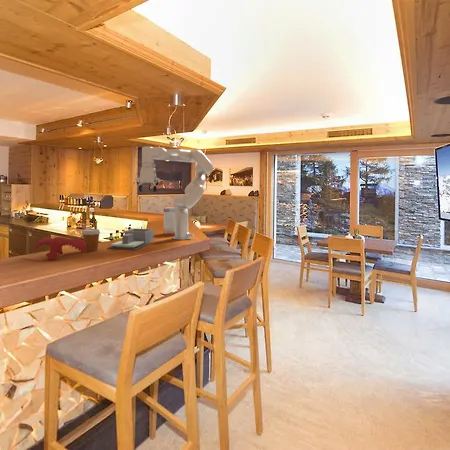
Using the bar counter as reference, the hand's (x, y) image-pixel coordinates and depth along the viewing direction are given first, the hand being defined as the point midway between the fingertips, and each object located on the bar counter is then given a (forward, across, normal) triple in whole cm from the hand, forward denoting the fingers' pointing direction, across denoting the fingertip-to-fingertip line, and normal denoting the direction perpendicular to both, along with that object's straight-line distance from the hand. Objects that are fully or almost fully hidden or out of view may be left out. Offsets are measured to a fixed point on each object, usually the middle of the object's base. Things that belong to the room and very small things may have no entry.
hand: (147, 191), depth 220 cm
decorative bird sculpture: (+34, +24, +60) cm, 73 cm away
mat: (+33, +4, +22) cm, 40 cm away
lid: (+33, +4, +22) cm, 40 cm away
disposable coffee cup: (+34, +18, +39) cm, 54 cm away
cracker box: (+34, -6, -36) cm, 50 cm away
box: (+33, +4, +5) cm, 34 cm away
